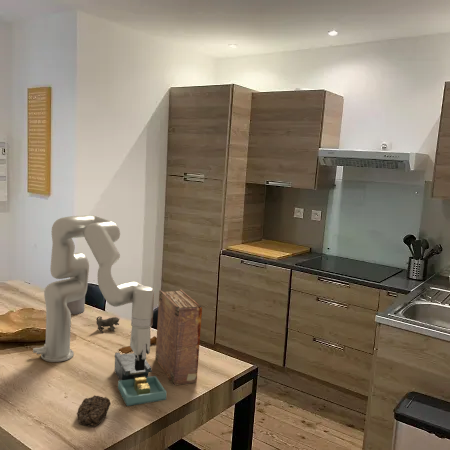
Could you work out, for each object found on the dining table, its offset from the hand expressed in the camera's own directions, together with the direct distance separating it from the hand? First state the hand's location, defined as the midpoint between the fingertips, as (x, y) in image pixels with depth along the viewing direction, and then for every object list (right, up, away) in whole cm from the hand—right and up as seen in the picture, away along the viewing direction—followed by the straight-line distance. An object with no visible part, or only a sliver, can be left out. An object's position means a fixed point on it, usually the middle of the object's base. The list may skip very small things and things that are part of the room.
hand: (139, 369), depth 170 cm
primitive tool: (-7, -3, +38) cm, 39 cm away
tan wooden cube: (+2, -5, -4) cm, 7 cm away
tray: (+1, -8, -3) cm, 9 cm away
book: (+11, -6, +18) cm, 22 cm away
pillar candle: (-49, +6, +79) cm, 93 cm away
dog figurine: (-25, +2, +56) cm, 62 cm away
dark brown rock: (-12, -10, -20) cm, 25 cm away
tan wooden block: (0, -5, +1) cm, 5 cm away
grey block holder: (-5, -6, +10) cm, 12 cm away
